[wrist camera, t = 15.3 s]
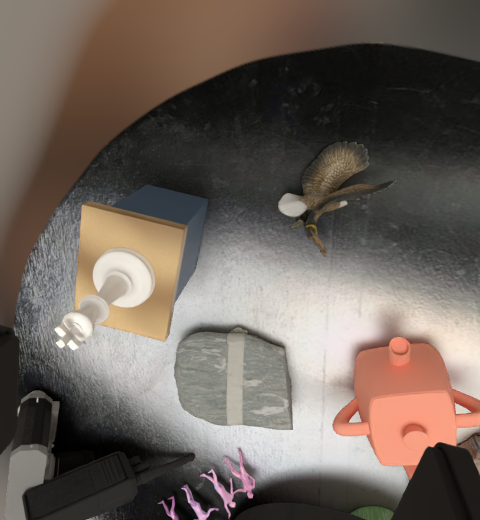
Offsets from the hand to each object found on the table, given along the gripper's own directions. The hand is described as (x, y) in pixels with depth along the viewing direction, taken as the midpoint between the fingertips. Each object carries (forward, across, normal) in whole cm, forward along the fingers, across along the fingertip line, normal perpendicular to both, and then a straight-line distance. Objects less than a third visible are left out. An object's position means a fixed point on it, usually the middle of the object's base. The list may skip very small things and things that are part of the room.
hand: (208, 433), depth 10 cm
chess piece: (+23, +10, +9) cm, 27 cm away
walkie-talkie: (+25, +19, +42) cm, 52 cm away
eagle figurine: (+36, -5, +1) cm, 37 cm away
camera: (+28, +18, +43) cm, 54 cm away
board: (+24, +10, +9) cm, 28 cm away
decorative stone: (+38, -3, +26) cm, 46 cm away
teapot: (+36, -18, +20) cm, 45 cm away
